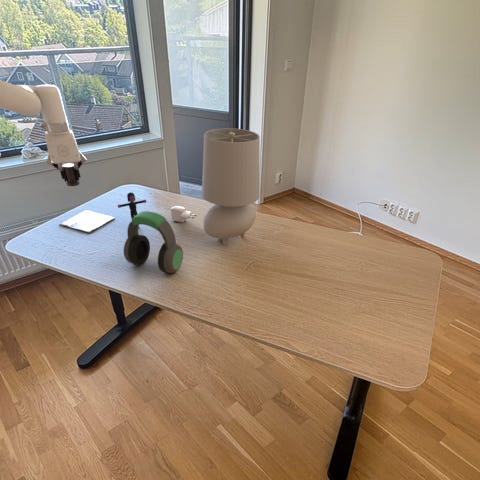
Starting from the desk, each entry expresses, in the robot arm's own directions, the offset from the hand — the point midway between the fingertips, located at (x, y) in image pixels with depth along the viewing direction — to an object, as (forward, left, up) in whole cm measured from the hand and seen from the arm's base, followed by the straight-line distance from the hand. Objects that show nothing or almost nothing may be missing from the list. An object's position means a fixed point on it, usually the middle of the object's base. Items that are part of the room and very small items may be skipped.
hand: (72, 179), depth 134 cm
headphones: (+22, -40, -20) cm, 50 cm away
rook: (0, 0, -2) cm, 2 cm away
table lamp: (+55, -29, -20) cm, 66 cm away
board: (+1, +4, -19) cm, 20 cm away
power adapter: (+41, -7, -20) cm, 46 cm away
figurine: (+20, -7, -20) cm, 29 cm away
